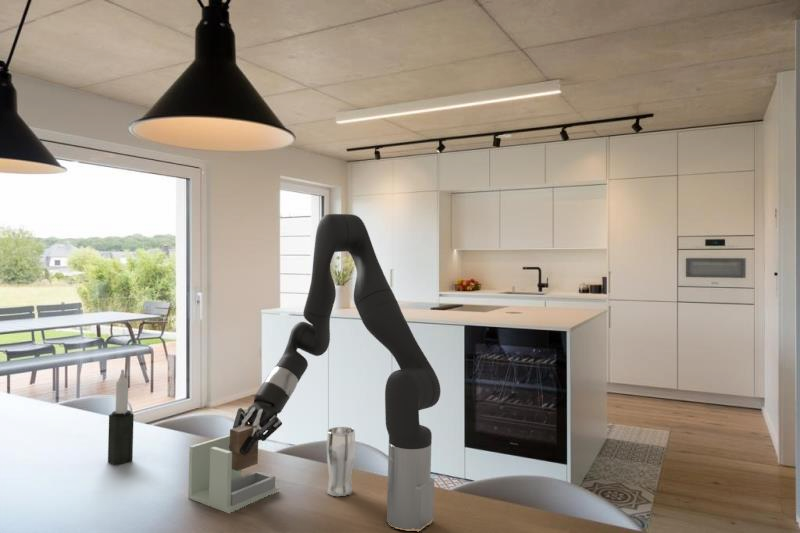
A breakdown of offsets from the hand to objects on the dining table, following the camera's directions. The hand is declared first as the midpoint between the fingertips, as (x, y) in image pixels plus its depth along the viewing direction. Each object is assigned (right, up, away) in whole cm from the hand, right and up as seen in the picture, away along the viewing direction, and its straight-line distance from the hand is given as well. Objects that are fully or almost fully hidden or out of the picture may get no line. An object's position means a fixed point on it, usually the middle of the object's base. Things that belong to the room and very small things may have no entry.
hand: (237, 451), depth 131 cm
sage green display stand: (-2, -11, +3) cm, 12 cm away
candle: (-39, -11, +23) cm, 46 cm away
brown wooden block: (+1, -4, +2) cm, 4 cm away
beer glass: (+23, -12, +6) cm, 27 cm away
